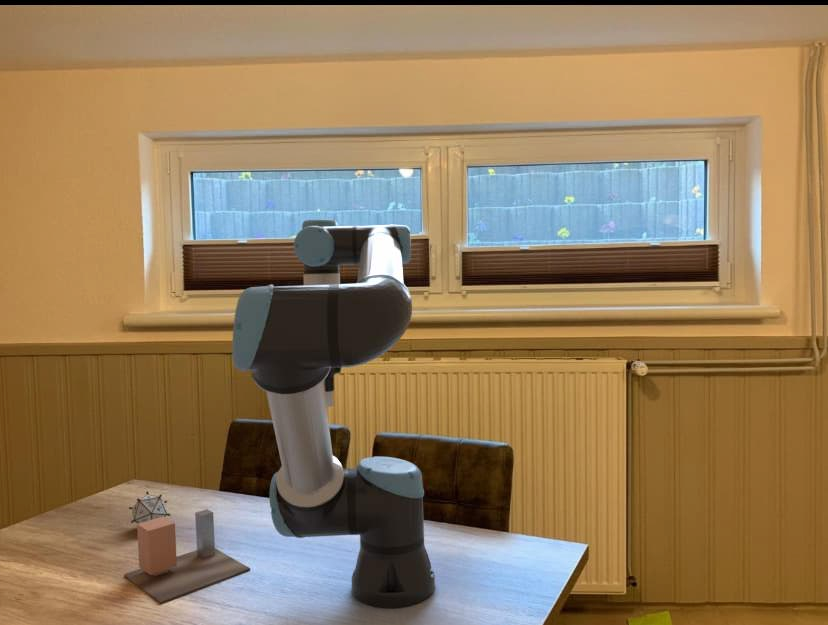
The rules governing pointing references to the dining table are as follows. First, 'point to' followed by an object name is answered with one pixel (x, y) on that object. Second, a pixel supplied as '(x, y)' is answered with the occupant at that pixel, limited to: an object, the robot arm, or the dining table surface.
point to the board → (187, 575)
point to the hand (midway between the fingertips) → (326, 406)
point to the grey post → (205, 534)
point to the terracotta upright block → (156, 545)
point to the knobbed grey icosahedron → (148, 508)
